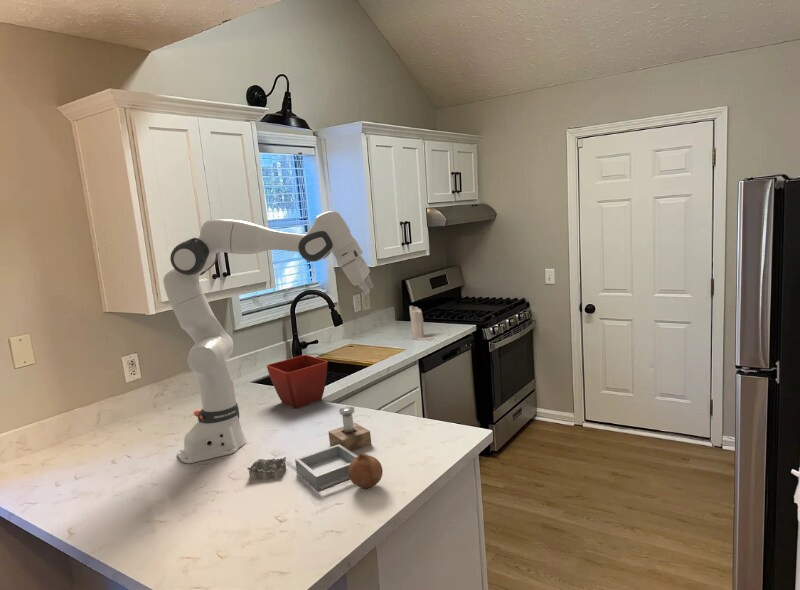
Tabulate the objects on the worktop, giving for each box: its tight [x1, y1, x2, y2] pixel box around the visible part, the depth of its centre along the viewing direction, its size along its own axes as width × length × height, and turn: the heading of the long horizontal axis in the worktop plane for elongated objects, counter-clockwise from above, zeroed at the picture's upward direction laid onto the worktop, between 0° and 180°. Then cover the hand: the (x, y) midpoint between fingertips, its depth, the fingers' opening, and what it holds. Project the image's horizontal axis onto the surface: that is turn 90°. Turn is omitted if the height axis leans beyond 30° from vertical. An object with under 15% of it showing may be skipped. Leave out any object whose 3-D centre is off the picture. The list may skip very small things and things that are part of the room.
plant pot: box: [266, 354, 328, 409], centre depth 226 cm, size 19×19×17 cm
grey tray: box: [294, 444, 358, 493], centre depth 160 cm, size 15×15×4 cm
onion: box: [348, 452, 384, 490], centre depth 150 cm, size 10×9×10 cm
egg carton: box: [246, 456, 287, 480], centre depth 164 cm, size 11×8×4 cm
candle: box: [409, 305, 435, 341], centre depth 319 cm, size 7×14×20 cm, turn 59°
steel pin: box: [338, 406, 355, 435], centre depth 176 cm, size 5×5×12 cm
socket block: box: [328, 422, 372, 453], centre depth 176 cm, size 10×10×6 cm
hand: (369, 290), depth 183 cm, fingers open, 8 cm apart
